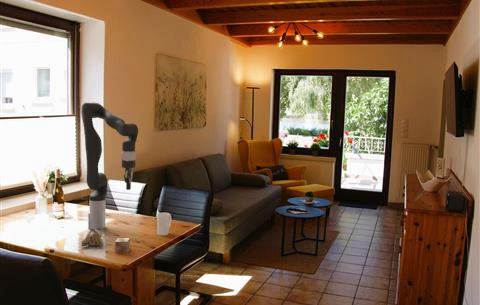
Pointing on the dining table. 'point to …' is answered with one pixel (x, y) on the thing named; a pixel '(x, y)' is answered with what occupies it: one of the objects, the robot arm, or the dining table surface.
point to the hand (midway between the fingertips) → (128, 189)
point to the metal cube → (122, 245)
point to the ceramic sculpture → (93, 238)
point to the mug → (163, 223)
